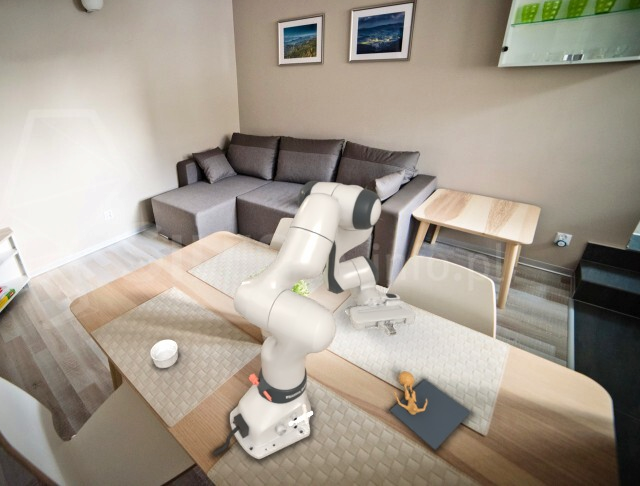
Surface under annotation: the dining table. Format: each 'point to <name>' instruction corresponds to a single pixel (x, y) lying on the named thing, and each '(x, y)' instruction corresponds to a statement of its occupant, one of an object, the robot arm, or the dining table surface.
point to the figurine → (408, 381)
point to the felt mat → (431, 414)
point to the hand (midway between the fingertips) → (392, 334)
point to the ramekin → (164, 353)
